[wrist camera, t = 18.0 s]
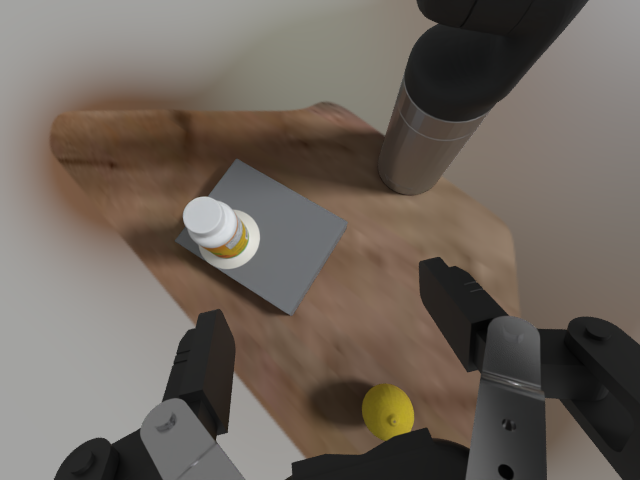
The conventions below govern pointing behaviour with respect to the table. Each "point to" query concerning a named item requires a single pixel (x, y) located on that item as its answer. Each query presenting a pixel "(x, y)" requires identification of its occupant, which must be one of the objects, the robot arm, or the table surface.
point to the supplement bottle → (216, 227)
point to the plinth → (273, 236)
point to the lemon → (387, 411)
